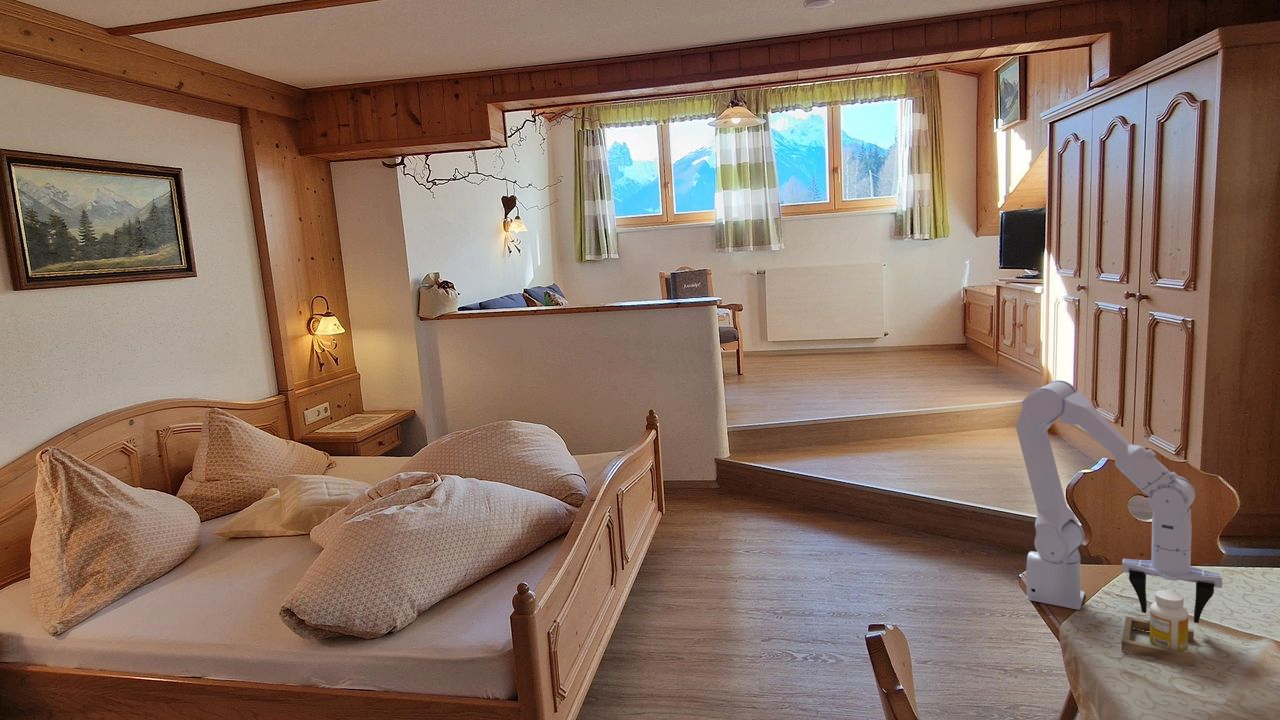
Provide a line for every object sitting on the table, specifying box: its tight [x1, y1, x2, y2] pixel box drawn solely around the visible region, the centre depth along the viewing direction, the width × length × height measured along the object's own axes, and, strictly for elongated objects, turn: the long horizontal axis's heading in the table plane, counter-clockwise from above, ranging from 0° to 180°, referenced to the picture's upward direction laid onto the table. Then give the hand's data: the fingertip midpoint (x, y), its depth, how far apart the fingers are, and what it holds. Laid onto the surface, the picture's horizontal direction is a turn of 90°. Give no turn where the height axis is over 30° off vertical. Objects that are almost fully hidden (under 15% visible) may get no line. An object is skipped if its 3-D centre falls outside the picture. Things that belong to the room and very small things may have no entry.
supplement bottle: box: [1149, 589, 1189, 652], centre depth 125 cm, size 5×5×10 cm
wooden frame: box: [1121, 615, 1195, 667], centre depth 126 cm, size 10×10×2 cm
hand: (1169, 615), depth 131 cm, fingers open, 7 cm apart
